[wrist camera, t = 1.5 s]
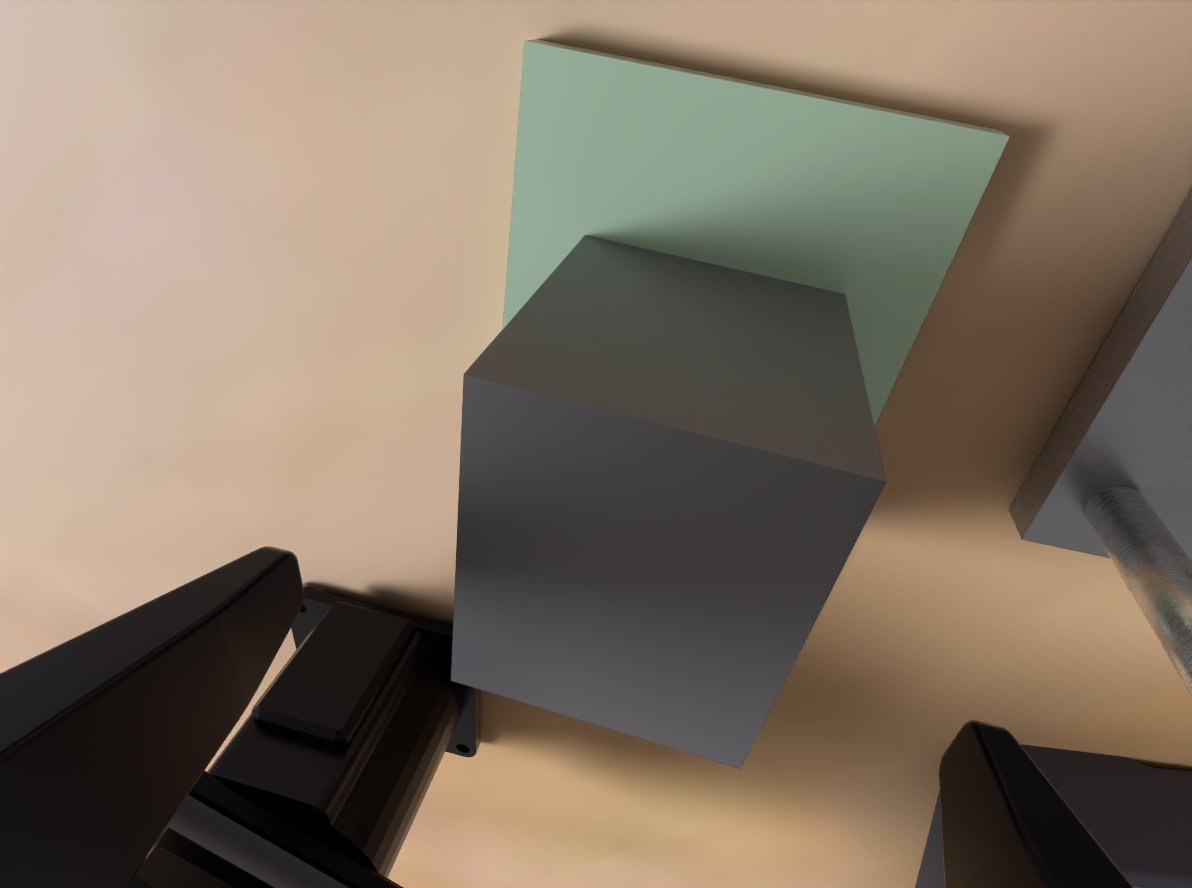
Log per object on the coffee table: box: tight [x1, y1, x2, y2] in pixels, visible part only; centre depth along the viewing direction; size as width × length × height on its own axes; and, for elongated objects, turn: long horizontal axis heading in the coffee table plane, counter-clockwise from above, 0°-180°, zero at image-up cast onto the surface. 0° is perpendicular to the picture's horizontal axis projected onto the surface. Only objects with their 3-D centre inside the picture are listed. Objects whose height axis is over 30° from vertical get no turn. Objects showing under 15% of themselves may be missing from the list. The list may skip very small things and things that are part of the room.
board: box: [451, 39, 1010, 769], centre depth 12 cm, size 12×8×7 cm, turn 172°
